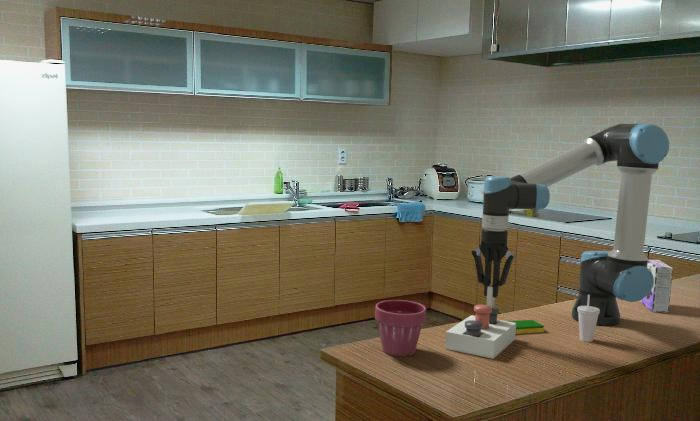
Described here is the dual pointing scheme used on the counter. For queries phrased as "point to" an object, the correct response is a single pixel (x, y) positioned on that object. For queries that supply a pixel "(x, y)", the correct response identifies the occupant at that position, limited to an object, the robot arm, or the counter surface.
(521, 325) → the dish sponge
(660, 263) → the candy box
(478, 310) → the pink round knob
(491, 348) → the mount
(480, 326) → the knob
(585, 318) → the smoothie
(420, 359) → the counter surface
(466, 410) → the counter surface
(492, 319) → the knob
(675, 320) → the counter surface
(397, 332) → the plant pot
